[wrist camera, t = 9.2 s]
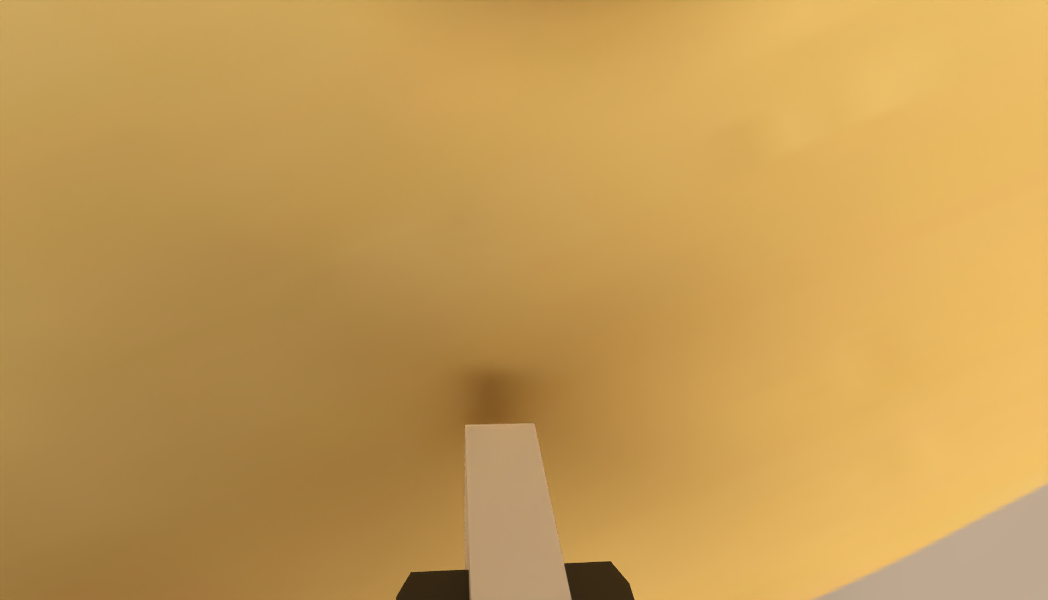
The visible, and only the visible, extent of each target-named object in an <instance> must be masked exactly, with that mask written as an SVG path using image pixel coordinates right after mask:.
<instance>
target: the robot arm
mask: <svg viewBox="0 0 1048 600" xmlns="http://www.w3.org/2000/svg"><path fill="white" fill-rule="evenodd" d="M464 532H465V570H450V571H428V572H411V573H410V575H409V577H408V578H407V580H406V582H405V583H404V585H403V587H402V588H401V590H400V592H399V593H398V595H397V597H396V600H634V597H633V594H632V591H631V588H630V584H629V583H628V581H627V580H626V579H625V578H624V577H623V576H622V574H621V573H620V572H619V571H618V570H617V568H616V567H615V566H614V565H613V564H612V562H611V561H609V562H587V563H564V561H563V557H562V552H561V547H560V542H559V537H558V533H557V528H556V523H555V518H554V514H553V509H552V504H551V499H550V495H549V490H548V485H547V480H546V475H545V471H544V466H543V461H542V456H541V452H540V447H539V442H538V437H537V432H536V428H535V423H519V424H472V425H465V509H464Z"/></svg>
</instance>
